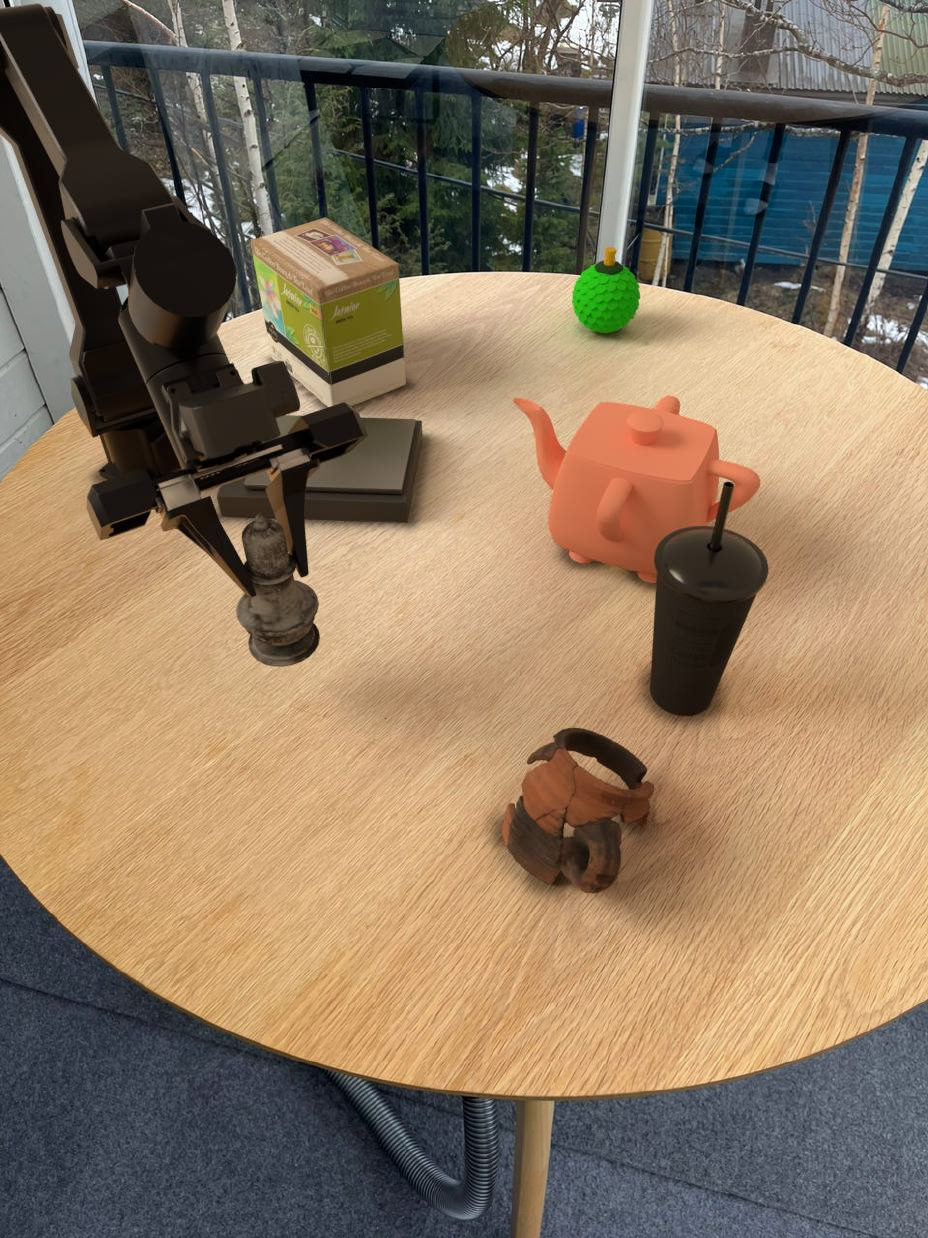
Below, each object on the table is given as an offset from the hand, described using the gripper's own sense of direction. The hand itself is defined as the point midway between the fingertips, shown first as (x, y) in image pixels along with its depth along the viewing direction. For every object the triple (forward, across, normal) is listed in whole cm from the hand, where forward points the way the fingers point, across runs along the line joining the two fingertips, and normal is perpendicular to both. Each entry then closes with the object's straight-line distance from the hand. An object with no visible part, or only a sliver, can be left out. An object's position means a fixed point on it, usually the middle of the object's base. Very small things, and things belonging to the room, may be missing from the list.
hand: (279, 586), depth 64 cm
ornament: (-15, +57, +34) cm, 68 cm away
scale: (-9, +15, +27) cm, 32 cm away
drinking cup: (+20, +26, -2) cm, 32 cm away
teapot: (+8, +33, +10) cm, 36 cm away
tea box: (-21, +25, +40) cm, 52 cm away
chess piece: (+4, 0, +6) cm, 7 cm away
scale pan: (-11, +16, +25) cm, 31 cm away
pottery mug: (+24, +10, -7) cm, 27 cm away
